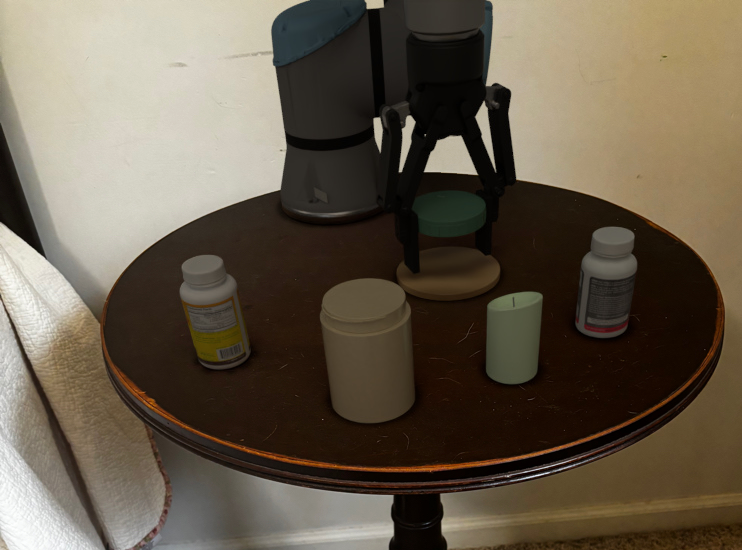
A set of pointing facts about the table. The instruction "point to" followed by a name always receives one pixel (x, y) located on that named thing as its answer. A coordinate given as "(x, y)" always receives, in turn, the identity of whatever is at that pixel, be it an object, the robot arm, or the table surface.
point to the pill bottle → (606, 283)
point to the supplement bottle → (214, 313)
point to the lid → (449, 213)
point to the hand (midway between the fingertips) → (448, 259)
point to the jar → (368, 350)
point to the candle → (513, 337)
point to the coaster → (450, 274)
